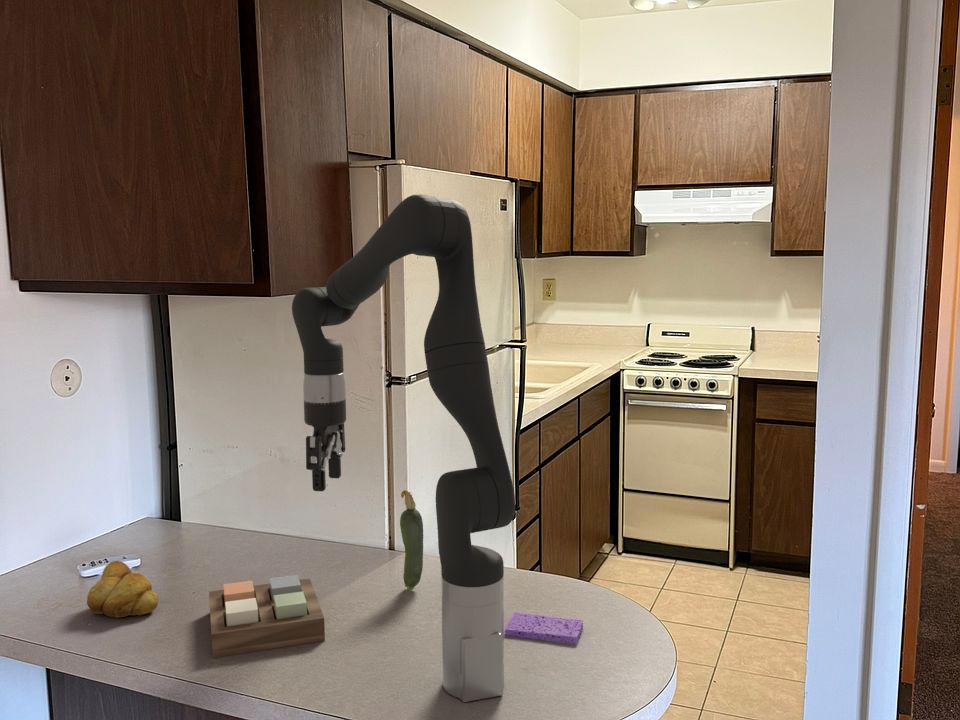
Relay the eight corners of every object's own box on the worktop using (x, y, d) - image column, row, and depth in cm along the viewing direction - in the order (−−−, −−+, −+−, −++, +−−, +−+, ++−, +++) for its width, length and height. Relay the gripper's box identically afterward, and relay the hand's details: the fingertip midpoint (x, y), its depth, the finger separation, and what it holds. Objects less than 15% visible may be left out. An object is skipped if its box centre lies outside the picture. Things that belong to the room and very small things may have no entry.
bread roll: (170, 607, 157) (168, 565, 156) (129, 629, 148) (126, 585, 147) (119, 595, 162) (116, 555, 161) (76, 616, 153) (73, 573, 152)
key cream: (258, 626, 142) (257, 609, 141) (227, 631, 140) (226, 613, 140) (256, 614, 146) (255, 597, 146) (226, 618, 145) (225, 601, 144)
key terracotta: (255, 607, 149) (254, 591, 149) (225, 611, 148) (224, 595, 147) (253, 596, 154) (252, 580, 153) (224, 600, 152) (223, 584, 152)
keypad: (324, 640, 143) (324, 617, 142) (212, 657, 137) (211, 634, 137) (310, 598, 160) (309, 578, 159) (210, 612, 154) (208, 591, 154)
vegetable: (426, 586, 165) (424, 486, 162) (422, 595, 161) (420, 493, 158) (403, 586, 165) (401, 486, 163) (399, 595, 161) (397, 492, 158)
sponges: (576, 647, 141) (576, 637, 141) (503, 638, 145) (503, 627, 144) (584, 629, 148) (584, 619, 147) (513, 620, 151) (513, 610, 151)
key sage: (307, 619, 144) (306, 602, 144) (277, 623, 143) (276, 606, 142) (303, 607, 149) (302, 591, 148) (274, 611, 147) (273, 595, 147)
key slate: (301, 601, 152) (300, 584, 151) (272, 605, 150) (271, 588, 150) (298, 590, 156) (297, 574, 156) (270, 594, 155) (269, 578, 154)
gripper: (331, 405, 147) (334, 496, 149) (356, 391, 161) (358, 474, 163) (290, 404, 148) (293, 494, 150) (318, 390, 162) (321, 472, 164)
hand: (327, 484), depth 157 cm, fingers open, 8 cm apart
